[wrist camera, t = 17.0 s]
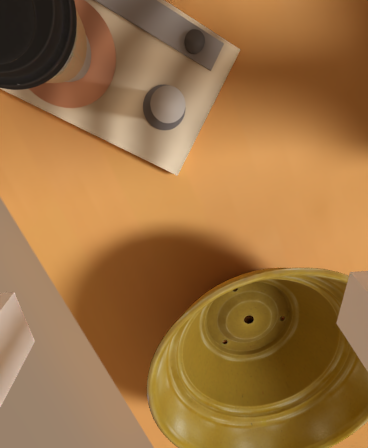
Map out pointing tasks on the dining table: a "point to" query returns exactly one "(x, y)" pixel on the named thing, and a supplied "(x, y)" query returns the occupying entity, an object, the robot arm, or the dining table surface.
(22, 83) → the coffee cup
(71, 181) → the dining table surface
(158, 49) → the control board
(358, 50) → the dining table surface
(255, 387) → the planter bowl
